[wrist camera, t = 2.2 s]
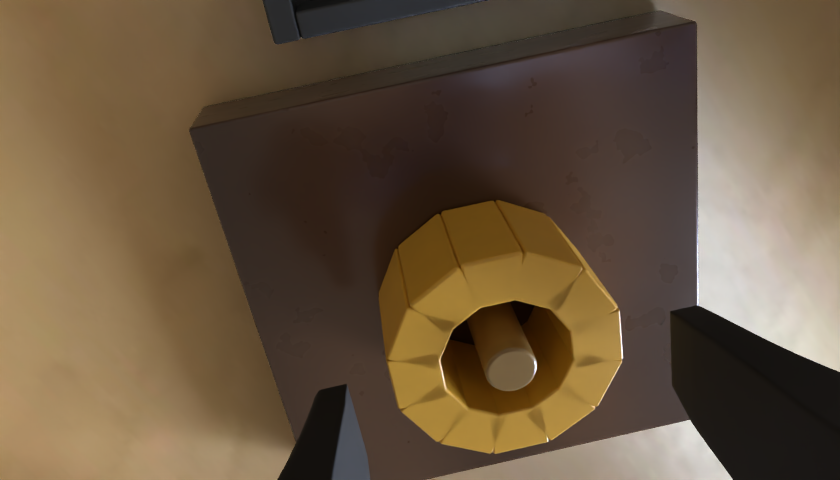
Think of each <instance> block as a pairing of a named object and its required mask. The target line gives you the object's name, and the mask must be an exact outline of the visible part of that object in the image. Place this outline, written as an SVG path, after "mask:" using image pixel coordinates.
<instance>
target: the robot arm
mask: <svg viewBox="0 0 840 480" xmlns="http://www.w3.org/2000/svg"><path fill="white" fill-rule="evenodd" d="M670 336H671V372H672V387H673V389H674V390H675V392H676V394H677V396H678V398H679V400H680V402H681V404H682V406H683V408H684V409H685V411H686V413H687V415H688V416H689V418H690V420H691V422H692V423H693V425H694V426H695V428H696V429H697V431H698V432H699V434H700V435H701V436H702V438H703V439H704V440H705V442H706V443H707V445H708V446H709V447H710V449H711V450H712V451H713V453H714V454H715V456H716V457H717V458H718V460H719V461H720V462H721V464H722V465H723V466H724V468H725V469H726V470H727V472H728V473H729V474H730V476H731V477H732V478H733V480H840V372H838V371H836V370H833V369H830V368H828V367H825V366H823V365H821V364H818V363H816V362H814V361H811V360H809V359H807V358H804V357H802V356H800V355H797V354H795V353H793V352H791V351H789V350H787V349H784V348H782V347H780V346H778V345H776V344H774V343H772V342H770V341H768V340H766V339H764V338H762V337H760V336H758V335H756V334H754V333H752V332H750V331H748V330H746V329H744V328H742V327H740V326H738V325H736V324H734V323H732V322H730V321H728V320H726V319H724V318H722V317H720V316H718V315H716V314H714V313H712V312H710V311H708V310H706V309H704V308H702V307H700V306H698V305H695V306H691V307H686V308H682V309H677V310H673V311H670ZM277 480H370V472H369V464H368V456H367V452H366V449H365V445H364V442H363V438H362V435H361V431H360V428H359V424H358V421H357V417H356V414H355V410H354V407H353V403H352V400H351V396H350V393H349V389H348V386H347V384H343V385H339V386H334V387H330V388H325V389H321V390H319V391H318V392H317V394H316V395H315V398H314V401H313V404H312V406H311V409H310V412H309V414H308V417H307V419H306V422H305V424H304V426H303V429H302V431H301V433H300V436H299V438H298V440H297V442H296V444H295V446H294V448H293V450H292V453H291V455H290V457H289V459H288V461H287V463H286V465H285V467H284V469H283V470H282V472H281V474H280V476H279V478H278V479H277Z"/></svg>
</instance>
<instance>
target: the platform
mask: <svg viewBox="0 0 840 480" xmlns="http://www.w3.org/2000/svg"><path fill="white" fill-rule="evenodd" d="M189 132H190V135H191V138H192V141H193V144H194V147H195V150H196V153H197V156H198V159H199V162H200V164H201V167H202V170H203V173H204V176H205V179H206V182H207V185H208V188H209V191H210V194H211V196H212V199H213V202H214V205H215V208H216V211H217V214H218V217H219V220H220V223H221V225H222V228H223V231H224V234H225V237H226V240H227V243H228V246H229V249H230V252H231V255H232V257H233V260H234V263H235V266H236V269H237V272H238V275H239V278H240V281H241V284H242V287H243V289H244V292H245V295H246V298H247V301H248V304H249V307H250V310H251V313H252V316H253V318H254V321H255V324H256V327H257V330H258V333H259V336H260V339H261V342H262V345H263V348H264V350H265V353H266V356H267V359H268V362H269V365H270V368H271V371H272V374H273V377H274V380H275V382H276V385H277V388H278V391H279V394H280V397H281V400H282V403H283V406H284V409H285V412H286V414H287V417H288V420H289V423H290V426H291V429H292V432H293V435H294V438H295V441H296V442H297V440H298V438H299V436H300V433H301V431H302V429H303V426H304V424H305V422H306V419H307V417H308V414H309V412H310V409H311V406H312V404H313V401H314V398H315V395H316V394H317V392H318V391H319V390H321V389H325V388H330V387H334V386H339V385H343V384H347V386H348V389H349V393H350V396H351V400H352V403H353V407H354V410H355V414H356V417H357V421H358V424H359V428H360V431H361V435H362V438H363V442H364V445H365V449H366V452H367V456H368V464H369V472H370V480H426V479H431V478H435V477H439V476H444V475H448V474H453V473H457V472H461V471H466V470H470V469H475V468H479V467H483V466H488V465H492V464H497V463H501V462H506V461H510V460H514V459H519V458H523V457H528V456H532V455H536V454H541V453H545V452H550V451H554V450H558V449H563V448H567V447H572V446H576V445H581V444H585V443H589V442H594V441H598V440H603V439H607V438H611V437H616V436H620V435H625V434H629V433H633V432H638V431H642V430H647V429H651V428H656V427H660V426H664V425H669V424H673V423H678V422H682V421H686V420H690V418H689V416H688V415H687V413H686V411H685V409H684V408H683V406H682V404H681V402H680V400H679V398H678V396H677V394H676V392H675V390H674V389H673V387H672V372H671V336H670V311H673V310H677V309H682V308H686V307H691V306H695V305H698V141H697V23H696V21H692V20H689V19H686V18H683V17H679V16H676V15H673V14H670V13H666V12H663V11H656V12H651V13H646V14H642V15H637V16H632V17H627V18H623V19H618V20H613V21H608V22H604V23H599V24H594V25H589V26H585V27H580V28H575V29H571V30H566V31H561V32H556V33H552V34H547V35H542V36H537V37H533V38H528V39H523V40H519V41H514V42H509V43H504V44H500V45H495V46H490V47H485V48H481V49H476V50H471V51H467V52H462V53H457V54H452V55H448V56H443V57H438V58H433V59H429V60H424V61H419V62H415V63H410V64H405V65H400V66H396V67H391V68H386V69H381V70H377V71H372V72H367V73H363V74H358V75H353V76H348V77H344V78H339V79H334V80H329V81H325V82H320V83H315V84H311V85H306V86H301V87H296V88H292V89H287V90H282V91H277V92H273V93H268V94H263V95H258V96H254V97H249V98H244V99H240V100H235V101H230V102H225V103H221V104H216V105H211V106H206V107H204V108H202V110H201V112H200V113H199V115H198V116H197V118H196V119H195V121H194V122H193V124H192V126H191V127H190V129H189ZM496 200H500V201H504V202H507V203H511V204H514V205H517V206H521V207H524V208H527V209H531V210H534V211H538V212H541V213H544V214H546V216H548V217H550V218H551V219H552V221H553V222H554V223H555V224H556V225H557V226H558V228H559V229H560V230H561V231H562V232H563V233H564V235H565V236H566V237H567V238H568V239H569V240H570V242H571V243H572V244H573V245H574V246H575V247H576V249H577V250H578V251H579V253H580V254H581V255H582V257H583V258H584V259H585V261H586V262H587V264H588V265H589V266H590V268H591V269H592V271H593V272H594V273H595V275H596V276H597V277H598V279H599V280H600V282H601V283H602V284H603V286H604V287H605V288H606V290H607V291H608V293H609V294H610V295H611V297H612V298H613V299H614V301H615V302H616V304H617V306H618V308H619V310H620V320H621V335H622V350H623V359H621V360H622V363H621V365H620V367H619V369H618V370H617V372H616V374H615V376H614V378H613V380H612V381H611V383H610V385H609V387H608V389H607V391H606V392H605V394H604V396H603V398H602V400H601V402H600V403H599V405H598V406H597V407H596V406H595V410H593V411H592V412H590V413H589V414H588V415H586V416H585V417H584V418H582V419H581V420H579V421H578V422H577V423H575V424H574V425H572V426H571V427H570V428H568V429H567V430H565V431H564V432H563V433H561V434H560V435H558V436H557V437H556V438H554V439H553V440H549V439H548V442H546V443H541V444H537V445H533V446H528V447H524V448H519V449H515V450H510V451H506V452H502V453H497V454H494V453H493V452H492V453H490V454H489V453H484V452H479V451H474V450H469V449H464V448H459V447H454V446H449V445H444V444H441V443H440V441H439V442H436V441H435V440H434V439H432V438H431V437H430V436H429V435H428V434H427V433H425V432H424V431H423V430H422V429H421V428H420V427H418V426H417V425H416V424H415V423H414V422H413V421H411V420H410V419H409V418H408V417H407V416H405V415H404V414H403V413H402V412H401V411H400V409H399V408H398V406H397V402H396V399H395V395H394V391H393V387H392V383H391V379H390V375H389V371H388V367H387V363H386V355H385V347H384V339H383V331H382V323H381V315H380V307H379V299H378V297H379V291H380V288H381V285H382V283H383V280H384V277H385V275H386V272H387V269H388V266H389V264H390V261H391V258H392V256H393V253H394V250H395V249H398V246H399V245H400V244H401V243H402V242H404V241H405V240H406V239H407V238H408V237H410V236H411V235H412V234H413V233H414V232H416V231H417V230H418V229H419V228H420V227H422V226H423V225H424V224H425V223H426V222H428V221H429V220H430V219H431V218H432V217H434V216H435V215H436V214H440V215H441V213H442V212H443V211H446V210H450V209H455V208H460V207H464V206H469V205H473V204H478V203H483V202H487V201H494V202H496ZM534 306H535V305H532V304H528V303H524V302H520V301H516V300H514V301H510V302H505V303H501V304H496V305H492V306H487V307H483V308H480V309H479V310H477V311H476V312H475V313H474V314H472V315H471V316H470V317H468V318H467V319H466V320H465V321H463V322H462V323H461V324H460V325H458V326H457V327H456V328H454V329H453V331H452V333H451V336H450V338H449V339H450V340H454V341H459V342H463V343H467V344H471V345H475V347H476V350H477V353H478V356H479V359H480V362H481V365H482V368H483V371H484V374H485V377H486V379H487V381H488V382H489V383H490V384H491V385H492V386H493V387H495V388H496V389H499V390H502V391H514V390H518V389H520V388H523V387H524V386H526V385H527V384H528V383H529V382H530V381H531V380H532V379H533V377H534V376H535V373H536V369H537V361H536V358H535V356H534V354H533V351H532V349H531V347H530V345H529V343H528V340H527V338H526V336H525V334H524V332H523V330H522V327H521V326H522V325H523V324H525V323H526V322H527V321H528V319H529V317H530V315H531V313H532V310H533V308H534Z"/></svg>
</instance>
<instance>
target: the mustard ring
mask: <svg viewBox="0 0 840 480" xmlns="http://www.w3.org/2000/svg"><path fill="white" fill-rule="evenodd" d="M378 299H379V307H380V315H381V323H382V331H383V339H384V347H385V355H386V363H387V367H388V371H389V375H390V379H391V383H392V387H393V391H394V395H395V399H396V402H397V406H398V408H399V409H400V411H401V412H402V413H403V414H404V415H405V416H407V417H408V418H409V419H410V420H411V421H413V422H414V423H415V424H416V425H417V426H418V427H420V428H421V429H422V430H423V431H424V432H425V433H427V434H428V435H429V436H430V437H431V438H432V439H434V440H435V441H436V442H439V441H440V443H441V444H444V445H449V446H454V447H459V448H464V449H469V450H474V451H479V452H484V453H489V454H490V453H492V452H493V453H494V454H497V453H502V452H506V451H510V450H515V449H519V448H524V447H528V446H533V445H537V444H541V443H546V442H548V439H549V440H553V439H554V438H556V437H557V436H558V435H560V434H561V433H563V432H564V431H565V430H567V429H568V428H570V427H571V426H572V425H574V424H575V423H577V422H578V421H579V420H581V419H582V418H584V417H585V416H586V415H588V414H589V413H590V412H592V411H593V410H595V406H596V407H597V406H598V405H599V403H600V402H601V400H602V398H603V396H604V394H605V392H606V391H607V389H608V387H609V385H610V383H611V381H612V380H613V378H614V376H615V374H616V372H617V370H618V369H619V367H620V365H621V363H622V360H621V359H623V350H622V335H621V320H620V310H619V308H618V306H617V304H616V302H615V301H614V299H613V298H612V297H611V295H610V294H609V293H608V291H607V290H606V288H605V287H604V286H603V284H602V283H601V282H600V280H599V279H598V277H597V276H596V275H595V273H594V272H593V271H592V269H591V268H590V266H589V265H588V264H587V262H586V261H585V259H584V258H583V257H582V255H581V254H580V253H579V251H578V250H577V249H576V247H575V246H574V245H573V244H572V243H571V242H570V240H569V239H568V238H567V237H566V236H565V235H564V233H563V232H562V231H561V230H560V229H559V228H558V226H557V225H556V224H555V223H554V222H553V221H552V219H551V218H550V217H548V216H546V214H544V213H541V212H538V211H534V210H531V209H527V208H524V207H521V206H517V205H514V204H511V203H507V202H504V201H500V200H496V202H494V201H487V202H483V203H478V204H473V205H469V206H464V207H460V208H455V209H450V210H446V211H443V212H442V213H441V215H440V214H436V215H435V216H434V217H432V218H431V219H430V220H429V221H428V222H426V223H425V224H424V225H423V226H422V227H420V228H419V229H418V230H417V231H416V232H414V233H413V234H412V235H411V236H410V237H408V238H407V239H406V240H405V241H404V242H402V243H401V244H400V245H399V246H398V249H395V250H394V253H393V256H392V258H391V261H390V264H389V266H388V269H387V272H386V275H385V277H384V280H383V283H382V285H381V288H380V291H379V297H378ZM514 300H516V301H520V302H524V303H528V304H532V305H535V306H534V308H533V310H532V313H531V315H530V317H529V319H528V321H527V322H526V323H525V324H523V325H522V326H521V327H522V330H523V332H524V334H525V336H526V338H527V340H528V343H529V345H530V347H531V349H532V351H533V354H534V356H535V358H536V361H537V369H536V373H535V376H534V377H533V379H532V380H531V381H530V382H529V383H528V384H527V385H526V386H524V387H523V388H520V389H518V390H514V391H502V390H499V389H496V388H495V387H493V386H492V385H491V384H490V383H489V382H488V381H487V379H486V377H485V374H484V371H483V368H482V365H481V362H480V359H479V356H478V353H477V350H476V347H475V345H471V344H467V343H463V342H459V341H454V340H450V339H449V338H450V336H451V333H452V331H453V329H454V328H456V327H457V326H458V325H460V324H461V323H462V322H463V321H465V320H466V319H467V318H468V317H470V316H471V315H472V314H474V313H475V312H476V311H477V310H479V309H480V308H483V307H487V306H492V305H496V304H501V303H505V302H510V301H514Z"/></svg>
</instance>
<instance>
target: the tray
mask: <svg viewBox="0 0 840 480" xmlns="http://www.w3.org/2000/svg"><path fill="white" fill-rule="evenodd" d="M482 1H487V0H263V4H264V8H265V12H266V15H267V19H268V23H269V26H270V30H271V34H272V37H273V41H274V43H275V44H282V43H287V42H292V41H296V40H299V39H300V37H302V38H303V39H306V38H311V37H316V36H320V35H325V34H330V33H335V32H339V31H344V30H349V29H354V28H358V27H363V26H368V25H373V24H377V23H382V22H387V21H392V20H397V19H401V18H406V17H411V16H416V15H420V14H425V13H430V12H435V11H439V10H444V9H449V8H454V7H459V6H463V5H468V4H473V3H478V2H482Z"/></svg>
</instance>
